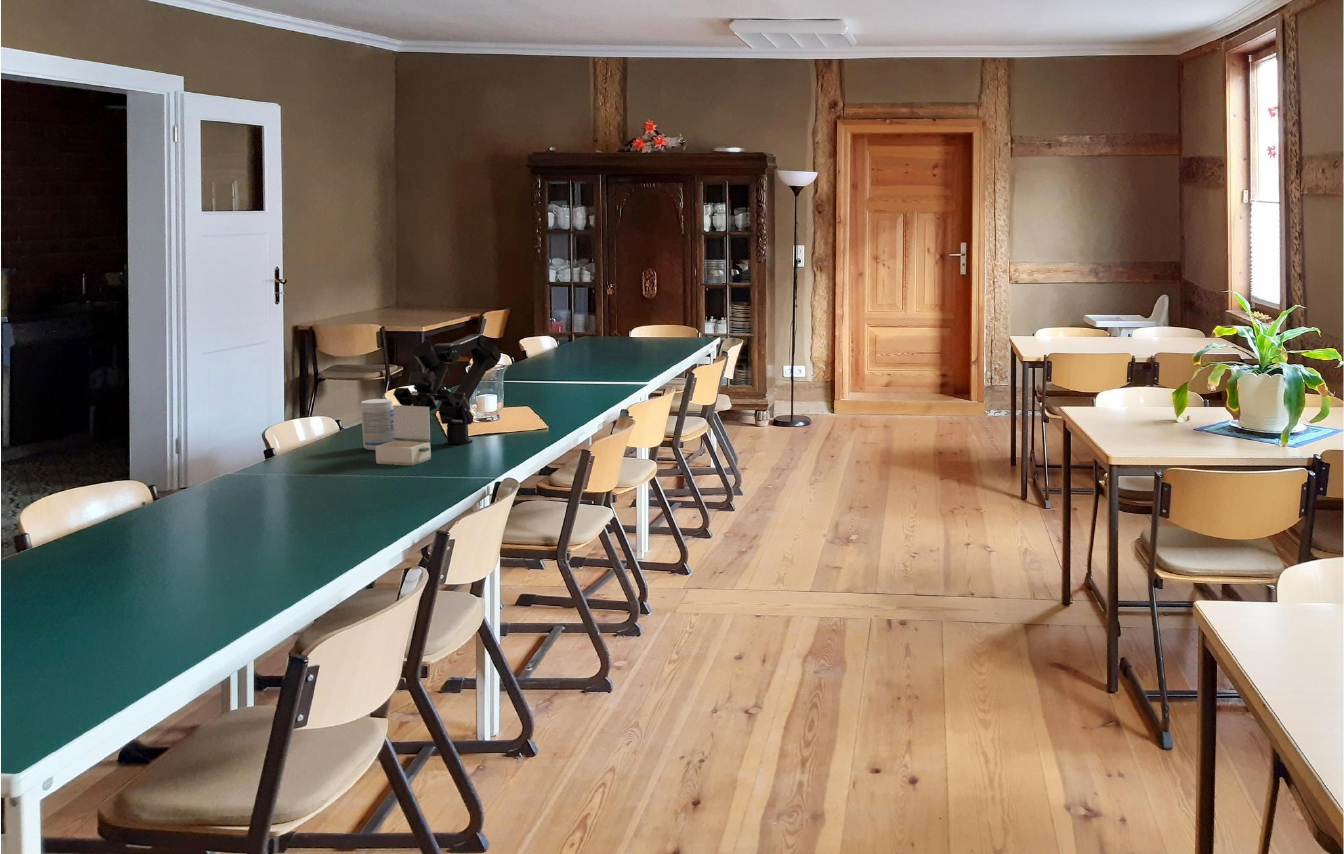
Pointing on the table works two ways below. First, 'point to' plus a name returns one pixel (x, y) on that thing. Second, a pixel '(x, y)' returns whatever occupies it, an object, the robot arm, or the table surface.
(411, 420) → the lid
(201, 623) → the table surface
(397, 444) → the pot
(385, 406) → the supplement tub
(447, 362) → the robot arm
